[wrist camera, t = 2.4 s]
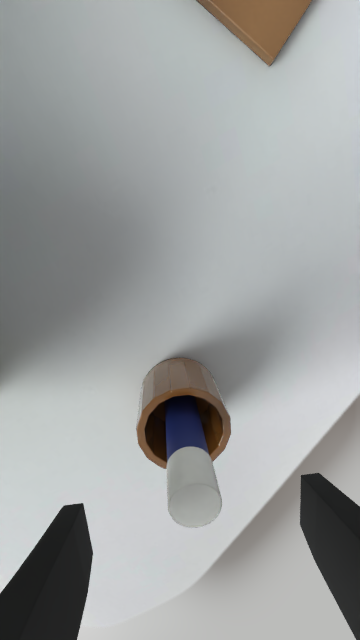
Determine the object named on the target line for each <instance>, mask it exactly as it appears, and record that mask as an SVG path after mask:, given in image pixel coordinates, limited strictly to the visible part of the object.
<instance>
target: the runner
mask: <svg viewBox="0 0 360 640" xmlns="http://www.w3.org/2000/svg"><path fill="white" fill-rule="evenodd" d="M197 1H198V2H199V3H200V4H201V5H202V6H203V7H205V8H206V9H207V10H208V11H209V12H210V13H211V14H212V15H213V16H214V17H216V18H217V19H218V20H219V21H220V22H221V23H222V24H223V25H224V26H226V27H227V28H228V29H229V30H230V31H231V32H232V33H233V34H234V35H236V36H237V37H238V38H239V39H240V40H241V41H242V42H243V43H244V44H245V45H247V46H248V47H249V48H250V49H251V50H252V51H253V52H254V53H255V54H257V55H258V56H259V57H260V58H261V59H262V60H263V61H264V62H265V63H267V64H268V65H269V66H270V65H271V64H272V62H273V61H274V59H275V58H276V56H277V55H278V53H279V51H280V50H281V48H282V47H283V45H284V44H285V42H286V41H287V39H288V37H289V36H290V34H291V33H292V31H293V30H294V28H295V27H296V25H297V23H298V22H299V20H300V19H301V17H302V16H303V14H304V13H305V11H306V9H307V8H308V6H309V5H310V3H311V2H312V0H197Z"/></svg>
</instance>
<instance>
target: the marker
mask: <svg viewBox="0 0 360 640" xmlns="http://www.w3.org/2000/svg"><path fill="white" fill-rule="evenodd" d="M165 421H166V443H167V467H166V469H167V493H168V511H169V514H170V516H171V517H172V519H173V520H174V521H175V522H176V523H178V524H179V525H181V526H184V527H189V528H197V527H202V526H205V525H207V524H209V523H211V522H212V521H213V520H214V519H215V518H216V517H217V516H218V514H219V513H220V510H221V507H222V499H221V495H220V491H219V487H218V483H217V479H216V475H215V471H214V467H213V463H212V460H211V457H210V456H209V452H208V448H207V444H206V440H205V436H204V432H203V428H202V424H201V419H200V415H199V411H198V407H197V403H196V399H195V396H192V395H184V396H175V397H172V398H170V399H168V400H166V401H165Z"/></svg>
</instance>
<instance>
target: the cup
mask: <svg viewBox="0 0 360 640" xmlns="http://www.w3.org/2000/svg"><path fill="white" fill-rule="evenodd" d="M184 395H192V396H195V399H196V403H197V407H198V411H199V415H200V419H201V424H202V428H203V432H204V436H205V440H206V444H207V448H208V452H209V456H210V457H211V460H212V462H213V461H214V460H215V459H216V458H217V457H218V456H219V455H220V454H221V453H222V452H223V451H224V449H225V447H226V445H227V442H228V440H229V437H230V435H231V423H230V416H229V413H228V411H227V408H226V406H225V404H224V401H223V399H222V397H221V394H220V392H219V389H218V387H217V385H216V383H215V381H214V379H213V377H212V375H211V373H210V372H209V371H208V369H207V368H206V367H204V366H203V365H202V364H200V363H199V362H197V361H194V360H191V359H187V358H173V359H168V360H165V361H163V362H161V363H159V364H157V365H156V366H155V367H153V368H152V369H151V370H150V371H149V373H148V374H147V375H146V377H145V379H144V381H143V384H142V389H141V392H140V401H139V410H138V419H137V428H136V430H137V437H138V444H139V446H140V448H141V449H142V451H143V452H144V454H145V455H146V457H147V458H148V459H149V460H151V461H152V462H154V463H155V464H157V465H158V466H160V467H161V468H165V469H166V467H167V443H166V421H165V401H166V400H168V399H170V398H172V397H175V396H184Z"/></svg>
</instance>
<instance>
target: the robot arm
mask: <svg viewBox="0 0 360 640" xmlns="http://www.w3.org/2000/svg"><path fill="white" fill-rule="evenodd" d="M300 525H301V528H302V530H303V533H304V536H305V538H306V541H307V543H308V545H309V548H310V550H311V553H312V555H313V557H314V560H315V562H316V564H317V566H318V568H319V570H320V571H321V573H322V575H323V577H324V579H325V581H326V583H327V585H328V587H329V589H330V591H331V593H332V594H333V596H334V598H335V600H336V602H337V604H338V606H339V608H340V610H341V612H342V613H343V615H344V617H345V619H346V621H347V623H348V625H349V627H350V629H351V630H352V632H353V634H354V636H355V638H356V640H360V506H358V505H357V504H356V503H355V502H353V501H352V500H351V499H350V498H349V497H347V496H346V495H345V494H344V493H342V492H341V491H340V490H339V489H338V488H336V487H335V486H334V485H333V484H332V483H330V482H329V481H328V480H327V479H325V478H324V477H323V476H322V475H321V474H319V473H315V474H307V475H301V506H300ZM92 556H93V551H92V546H91V541H90V536H89V530H88V525H87V520H86V515H85V510H84V505H83V503H81V504H73V505H65V506H63V507H62V509H61V510H60V511H59V513H58V514H57V516H56V517H55V519H54V520H53V522H52V523H51V524H50V526H49V527H48V529H47V530H46V532H45V533H44V535H43V536H42V537H41V539H40V540H39V542H38V543H37V545H36V546H35V547H34V549H33V550H32V552H31V553H30V554H29V556H28V557H27V559H26V560H25V561H24V563H23V564H22V565H21V567H20V568H19V570H18V571H17V572H16V574H15V575H14V576H13V578H12V579H11V580H10V582H9V583H8V584H7V586H6V587H5V588H4V589H3V591H2V592H1V593H0V640H77V637H78V632H79V628H80V624H81V620H82V615H83V611H84V606H85V602H86V597H87V593H88V586H89V579H90V572H91V564H92Z"/></svg>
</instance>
